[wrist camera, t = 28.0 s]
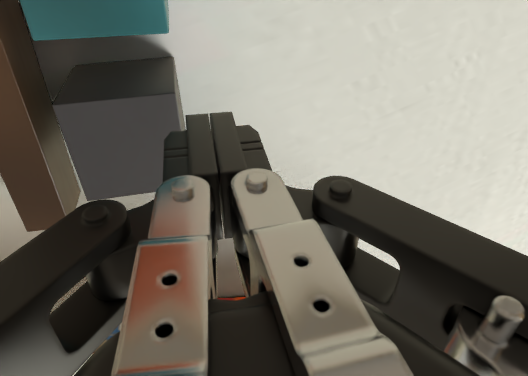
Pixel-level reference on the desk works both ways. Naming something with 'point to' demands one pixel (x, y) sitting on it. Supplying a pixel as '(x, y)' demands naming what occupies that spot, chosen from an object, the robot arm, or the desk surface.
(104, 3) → the block teal
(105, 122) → the block charcoal
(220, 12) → the desk surface
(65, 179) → the rail
